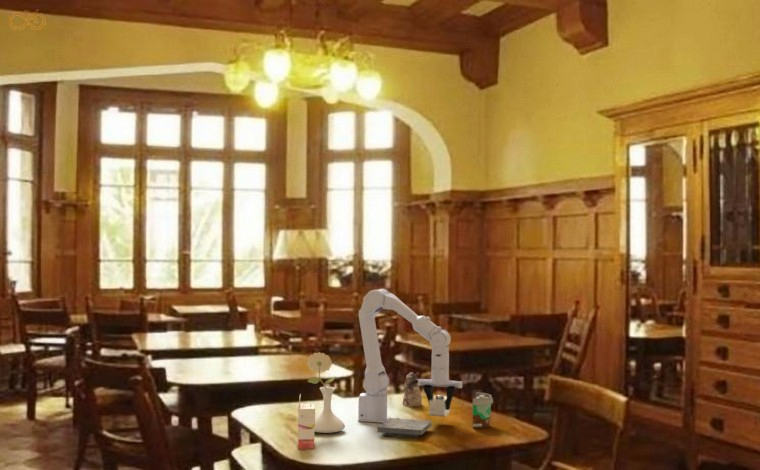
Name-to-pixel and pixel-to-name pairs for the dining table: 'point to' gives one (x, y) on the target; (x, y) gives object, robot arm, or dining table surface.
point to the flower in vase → (324, 395)
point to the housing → (438, 406)
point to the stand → (404, 427)
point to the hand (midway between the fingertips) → (439, 408)
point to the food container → (481, 410)
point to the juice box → (306, 426)
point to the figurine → (412, 391)
